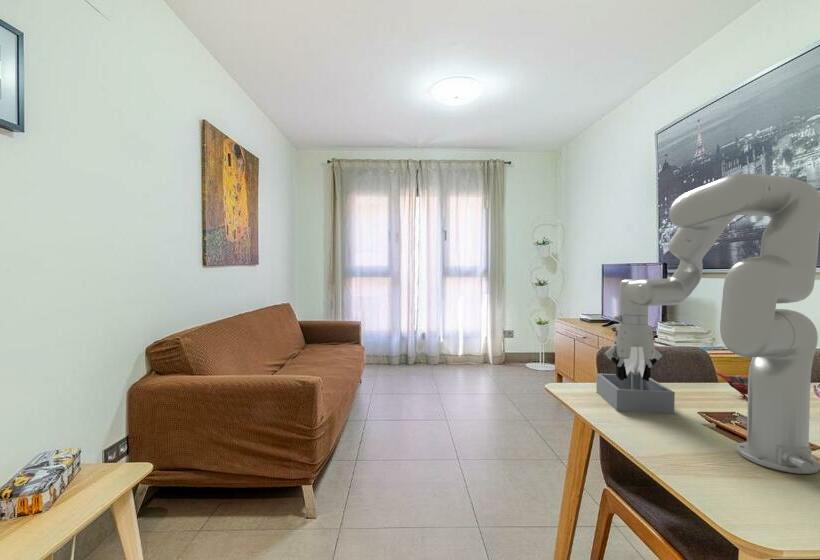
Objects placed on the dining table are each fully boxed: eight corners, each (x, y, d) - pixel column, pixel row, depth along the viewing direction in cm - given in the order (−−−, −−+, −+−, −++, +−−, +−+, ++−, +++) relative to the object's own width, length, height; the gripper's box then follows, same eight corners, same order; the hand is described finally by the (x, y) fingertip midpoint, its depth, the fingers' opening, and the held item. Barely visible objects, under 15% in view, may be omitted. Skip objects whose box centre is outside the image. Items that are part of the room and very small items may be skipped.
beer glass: (639, 391, 123) (639, 342, 123) (650, 398, 116) (651, 347, 116) (615, 390, 124) (616, 342, 124) (625, 397, 117) (625, 346, 117)
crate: (674, 413, 110) (674, 392, 110) (616, 410, 113) (616, 389, 112) (645, 393, 128) (646, 375, 128) (596, 391, 130) (596, 373, 130)
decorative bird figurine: (768, 407, 115) (769, 373, 115) (709, 389, 133) (709, 359, 132) (775, 406, 116) (776, 372, 116) (716, 389, 133) (716, 359, 133)
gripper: (607, 321, 117) (606, 381, 118) (671, 322, 115) (670, 384, 115) (599, 318, 125) (598, 375, 125) (658, 319, 122) (658, 377, 123)
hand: (632, 379), depth 120 cm, fingers closed on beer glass, 6 cm apart
